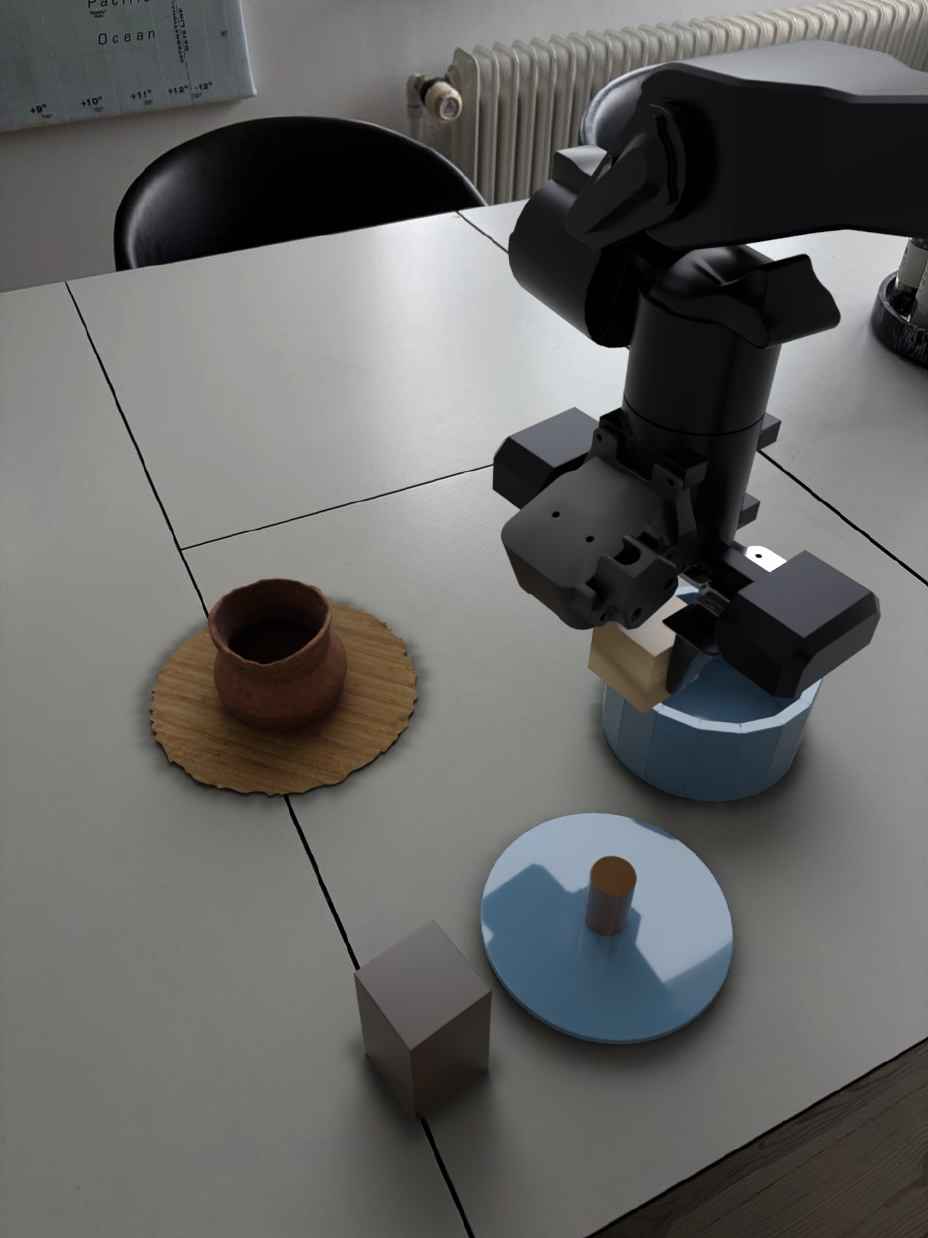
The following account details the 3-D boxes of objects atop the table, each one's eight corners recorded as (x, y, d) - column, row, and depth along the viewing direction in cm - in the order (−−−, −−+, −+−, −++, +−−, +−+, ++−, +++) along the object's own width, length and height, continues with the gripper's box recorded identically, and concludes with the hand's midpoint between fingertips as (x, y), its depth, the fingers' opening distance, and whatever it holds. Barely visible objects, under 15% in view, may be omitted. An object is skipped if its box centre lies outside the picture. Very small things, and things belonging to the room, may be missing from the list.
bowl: (837, 737, 65) (865, 667, 60) (703, 837, 59) (723, 768, 55) (693, 630, 72) (709, 560, 68) (562, 709, 67) (569, 639, 62)
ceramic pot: (237, 847, 59) (218, 772, 54) (102, 678, 69) (75, 602, 64) (471, 700, 67) (472, 624, 62) (321, 569, 77) (312, 494, 72)
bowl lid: (782, 948, 54) (805, 897, 51) (597, 1107, 48) (608, 1061, 45) (608, 786, 62) (617, 732, 59) (430, 905, 56) (428, 853, 52)
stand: (488, 1068, 49) (492, 990, 44) (415, 1125, 47) (410, 1051, 42) (436, 999, 52) (433, 918, 47) (364, 1051, 50) (352, 973, 45)
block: (698, 678, 51) (712, 621, 49) (643, 714, 50) (654, 657, 47) (641, 634, 54) (652, 578, 51) (587, 668, 52) (594, 611, 49)
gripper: (397, 366, 42) (409, 632, 53) (742, 603, 32) (669, 876, 42) (590, 293, 47) (565, 549, 58) (943, 476, 37) (832, 749, 47)
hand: (644, 665), depth 51 cm, fingers closed on block, 4 cm apart
